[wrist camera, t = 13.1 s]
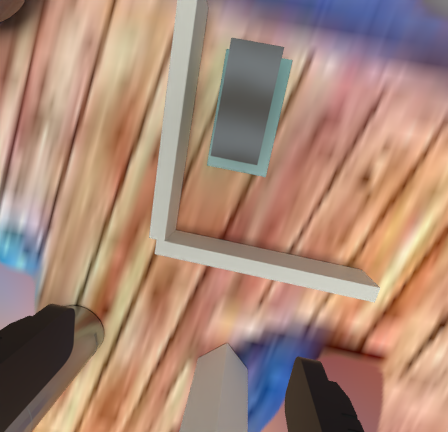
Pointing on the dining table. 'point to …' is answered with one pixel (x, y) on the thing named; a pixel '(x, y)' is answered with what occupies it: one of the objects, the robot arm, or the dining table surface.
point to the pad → (269, 131)
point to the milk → (217, 394)
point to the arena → (173, 179)
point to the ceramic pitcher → (9, 8)
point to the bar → (246, 100)
